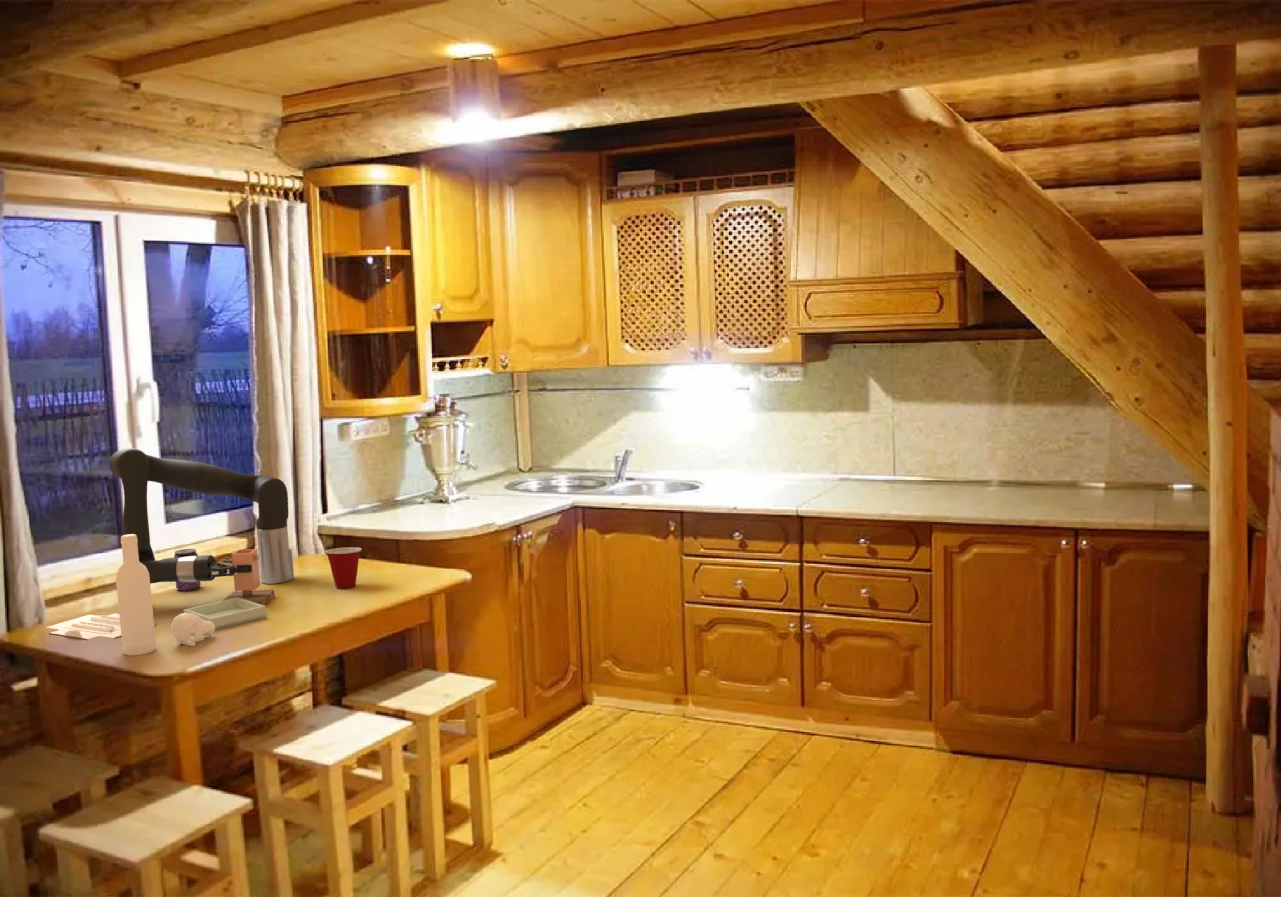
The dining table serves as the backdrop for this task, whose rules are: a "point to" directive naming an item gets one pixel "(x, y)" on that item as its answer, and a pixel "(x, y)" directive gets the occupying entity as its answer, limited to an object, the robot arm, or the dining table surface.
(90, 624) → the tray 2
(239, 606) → the tray
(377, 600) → the dining table surface
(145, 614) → the bottle
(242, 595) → the stand
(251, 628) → the dining table surface
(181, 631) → the animal figurine
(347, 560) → the plastic cup
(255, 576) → the sleeve
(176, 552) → the beverage can
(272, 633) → the dining table surface
